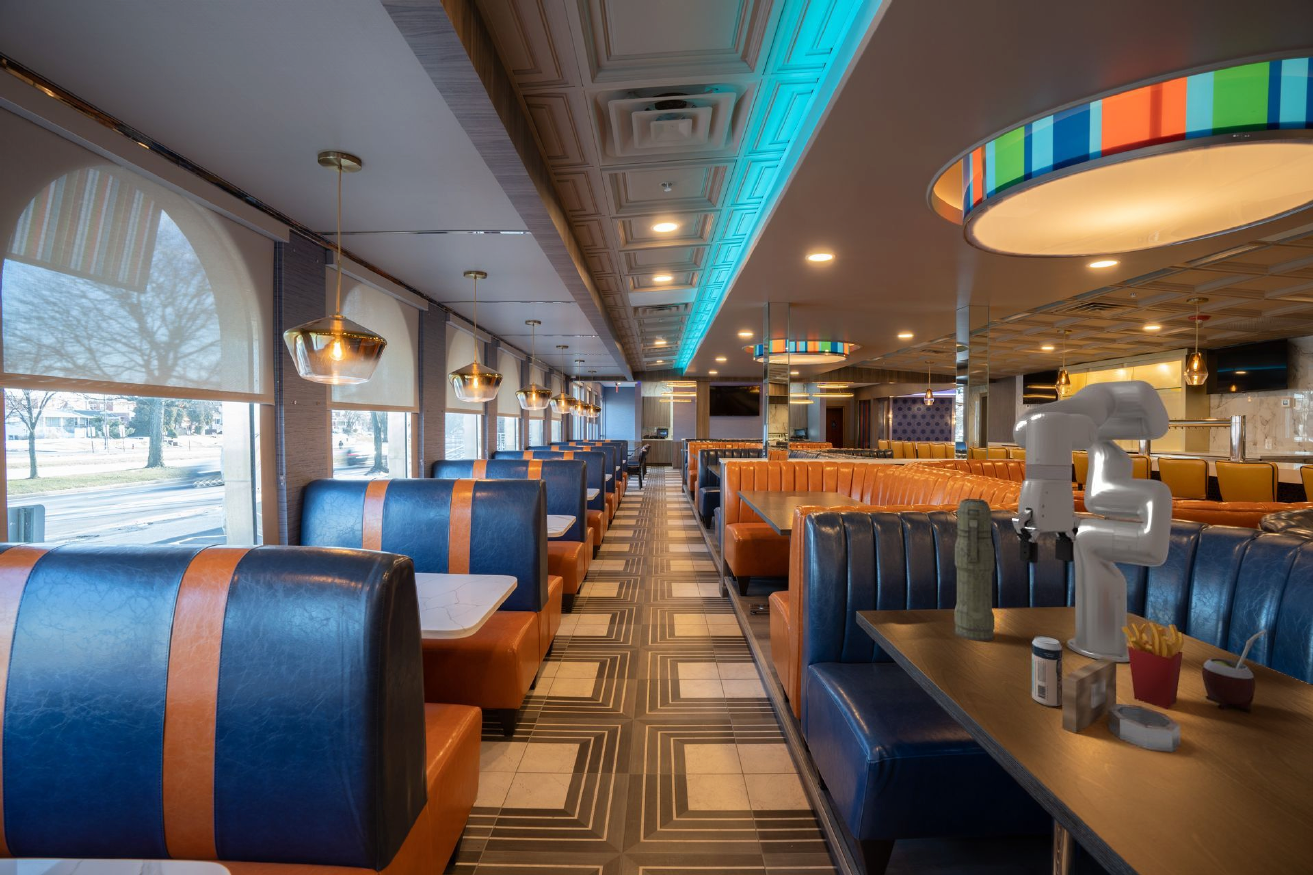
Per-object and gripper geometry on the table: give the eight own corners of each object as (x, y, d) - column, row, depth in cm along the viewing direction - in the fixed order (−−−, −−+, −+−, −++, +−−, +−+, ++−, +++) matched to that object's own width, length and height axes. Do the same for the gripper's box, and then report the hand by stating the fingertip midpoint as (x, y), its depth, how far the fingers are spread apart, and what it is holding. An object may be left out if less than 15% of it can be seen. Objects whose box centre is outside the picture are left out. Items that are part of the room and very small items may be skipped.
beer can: (1067, 709, 103) (1067, 645, 103) (1039, 706, 104) (1039, 643, 104) (1054, 697, 108) (1054, 636, 108) (1027, 695, 109) (1027, 634, 109)
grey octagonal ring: (1122, 719, 99) (1122, 699, 99) (1185, 741, 92) (1185, 720, 92) (1102, 732, 95) (1102, 712, 95) (1166, 756, 88) (1166, 735, 88)
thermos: (956, 640, 138) (956, 501, 138) (952, 625, 149) (952, 496, 149) (997, 645, 134) (997, 503, 134) (990, 630, 145) (990, 498, 145)
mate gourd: (1194, 700, 106) (1194, 623, 106) (1214, 692, 110) (1214, 618, 109) (1248, 718, 99) (1248, 636, 99) (1268, 709, 103) (1268, 630, 103)
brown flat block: (1103, 703, 105) (1103, 656, 105) (1118, 708, 103) (1118, 661, 103) (1062, 728, 96) (1062, 677, 96) (1078, 734, 94) (1078, 682, 94)
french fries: (1172, 712, 102) (1172, 632, 102) (1116, 694, 109) (1116, 619, 109) (1187, 700, 106) (1187, 623, 106) (1133, 684, 113) (1133, 611, 113)
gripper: (1059, 474, 115) (1058, 556, 114) (998, 472, 109) (996, 558, 109) (1098, 476, 108) (1097, 563, 107) (1034, 474, 102) (1033, 566, 102)
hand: (1046, 561), depth 108 cm, fingers open, 9 cm apart
